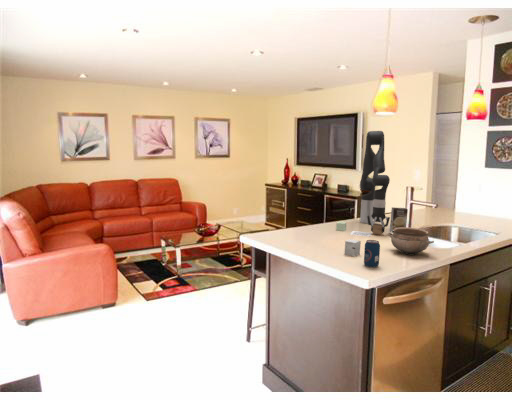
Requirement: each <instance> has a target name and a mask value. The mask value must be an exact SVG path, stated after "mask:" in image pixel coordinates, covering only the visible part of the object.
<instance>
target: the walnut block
mask: <svg viewBox="0 0 512 400" xmlns="http://www.w3.org/2000/svg"><path fill="white" fill-rule="evenodd" d="M372 234H383V233H382V224H381V223H374V225H373V232H372Z"/></svg>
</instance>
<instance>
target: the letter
mask: <svg viewBox="0 0 512 400" xmlns="http://www.w3.org/2000/svg"><path fill="white" fill-rule="evenodd" d="M371 234H373V232H368V231H367V232H366V231H358V230H352V231H351V232H350V233H349V234H348V235H349V236H350V235H351V236H360V237H368V238H369V237H371V236H372V235H371Z"/></svg>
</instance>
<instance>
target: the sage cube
mask: <svg viewBox="0 0 512 400" xmlns="http://www.w3.org/2000/svg"><path fill="white" fill-rule="evenodd" d="M335 226H336V227H335V231H340V232H346V230H347V221H337V222H336V225H335Z"/></svg>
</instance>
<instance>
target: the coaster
mask: <svg viewBox="0 0 512 400" xmlns="http://www.w3.org/2000/svg"><path fill="white" fill-rule="evenodd" d="M371 236H373V237H383V236H384V234H383V233H382V234H373V233H372V234H371Z"/></svg>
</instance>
